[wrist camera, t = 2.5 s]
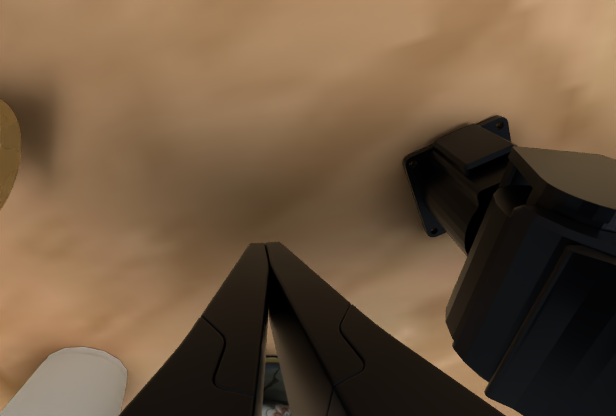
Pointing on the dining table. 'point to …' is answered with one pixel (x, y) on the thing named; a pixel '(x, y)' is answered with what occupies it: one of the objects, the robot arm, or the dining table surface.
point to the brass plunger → (8, 150)
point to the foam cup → (72, 386)
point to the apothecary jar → (274, 390)
